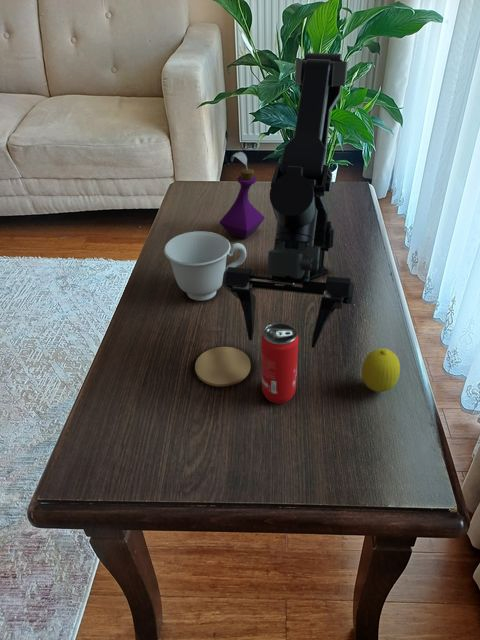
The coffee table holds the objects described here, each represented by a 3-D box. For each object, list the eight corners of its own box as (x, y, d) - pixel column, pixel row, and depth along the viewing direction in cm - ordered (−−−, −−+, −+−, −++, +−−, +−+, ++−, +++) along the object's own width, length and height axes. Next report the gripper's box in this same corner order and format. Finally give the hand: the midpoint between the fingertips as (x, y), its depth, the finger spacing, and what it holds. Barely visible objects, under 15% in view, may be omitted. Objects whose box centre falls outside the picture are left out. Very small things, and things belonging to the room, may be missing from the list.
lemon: (395, 404, 78) (404, 365, 73) (357, 399, 79) (364, 360, 74) (395, 379, 82) (404, 341, 77) (360, 375, 83) (366, 336, 78)
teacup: (251, 305, 98) (250, 259, 91) (171, 314, 96) (164, 267, 89) (243, 271, 107) (241, 227, 100) (169, 278, 105) (163, 233, 98)
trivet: (231, 342, 90) (231, 339, 89) (261, 372, 84) (261, 369, 84) (185, 362, 86) (185, 359, 85) (213, 395, 80) (212, 392, 80)
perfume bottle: (265, 230, 120) (265, 151, 108) (247, 244, 115) (245, 163, 103) (238, 222, 123) (235, 144, 111) (219, 235, 118) (214, 156, 106)
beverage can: (260, 382, 82) (260, 322, 74) (293, 380, 82) (296, 320, 75) (263, 406, 78) (263, 346, 70) (297, 404, 79) (301, 343, 71)
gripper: (221, 215, 70) (205, 330, 69) (361, 227, 68) (347, 346, 67) (236, 239, 81) (223, 338, 80) (357, 250, 79) (345, 353, 78)
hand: (281, 343), depth 76 cm, fingers open, 9 cm apart
